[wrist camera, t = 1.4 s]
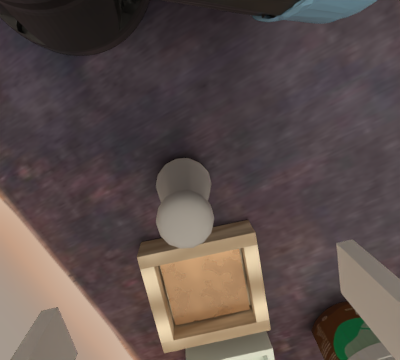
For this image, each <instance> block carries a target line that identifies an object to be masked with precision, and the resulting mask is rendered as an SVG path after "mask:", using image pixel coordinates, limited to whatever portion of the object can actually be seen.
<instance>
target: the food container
mask: <svg viewBox="0 0 400 360" xmlns="http://www.w3.org/2000/svg"><path fill="white" fill-rule="evenodd" d="M312 333H313V335H314V338H315V340H316V342H317V344H318V347H319V349H320V351H321V353H322V355H323V358H324V360H395V359H394V357H393V356H392V355H391V354H390V352H389V351H388V350H387V349H386V347H385V346H384V345H383V344H382V343H381V341H380V340H379V339H378V338H377V336H376V335H375V334H374V333H373V331H372V330H371V329H370V328H369V327H368V325H367V324H366V323H365V322H364V320H363V319H362V318H361V317H360V316H359V314H358V313H357V312H356V311H355V309H354V308H353V307H352V306H351V304H350V303H349V302H348V301H347V302H341V303H338V304H335V305H333V306H331V307H330V308H328V309H326V310H325V311H324V312H323V313H322V314H321V315H320V316H319V317H318V318H317V320H316V321H315V323H314V325H313V328H312Z"/></svg>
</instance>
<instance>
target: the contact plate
mask: <svg viewBox="0 0 400 360" xmlns="http://www.w3.org/2000/svg"><path fill="white" fill-rule="evenodd" d="M160 267H161V271H162V274H163V278H164V282H165V286H166V290H167V293H168V297H169V301H170V305H171V309H172V313H173V316H174V320H175V324H176V325H180V324H184V323H189V322H194V321H198V320H203V319H208V318H212V317H217V316H222V315H226V314H231V313H235V312H240V311H245V310H249V309H250V307H249V301H248V296H247V290H246V284H245V279H244V273H243V267H242V262H241V256H240V250H239V249H235V250H230V251H225V252H221V253H216V254H211V255H207V256H202V257H197V258H192V259H188V260H183V261H178V262H174V263H169V264H164V265H160Z"/></svg>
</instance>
